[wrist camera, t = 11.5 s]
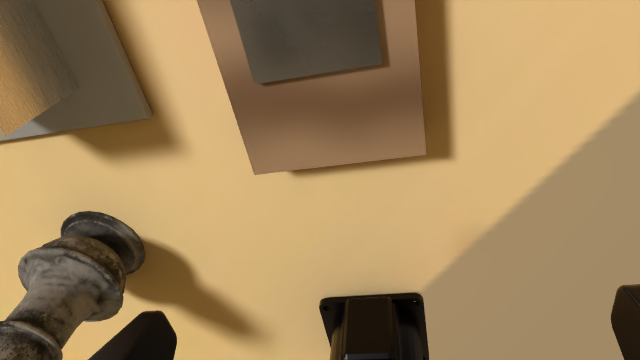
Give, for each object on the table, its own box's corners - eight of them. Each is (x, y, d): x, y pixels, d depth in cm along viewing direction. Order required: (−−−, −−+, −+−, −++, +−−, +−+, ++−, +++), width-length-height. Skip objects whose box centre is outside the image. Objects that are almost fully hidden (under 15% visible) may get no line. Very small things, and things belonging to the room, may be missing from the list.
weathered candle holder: (116, 199, 25) (-54, 401, 15) (166, 270, 28) (51, 479, 18) (37, 217, 26) (-166, 412, 16) (92, 283, 29) (-52, 482, 19)
